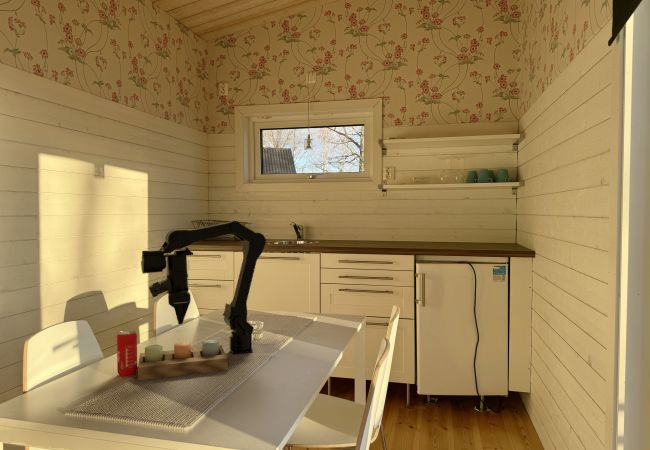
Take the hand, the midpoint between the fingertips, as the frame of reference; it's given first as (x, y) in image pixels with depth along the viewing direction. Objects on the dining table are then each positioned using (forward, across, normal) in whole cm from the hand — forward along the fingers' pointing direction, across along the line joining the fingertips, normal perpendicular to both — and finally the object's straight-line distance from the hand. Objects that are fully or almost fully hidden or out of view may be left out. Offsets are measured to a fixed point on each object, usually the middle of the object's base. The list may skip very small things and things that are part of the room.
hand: (180, 320), depth 147 cm
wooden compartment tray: (+12, +8, 0) cm, 15 cm away
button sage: (+9, +8, -8) cm, 15 cm away
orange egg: (+9, +8, 0) cm, 12 cm away
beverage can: (+12, +10, -15) cm, 21 cm away
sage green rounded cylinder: (+10, +8, +8) cm, 15 cm away
